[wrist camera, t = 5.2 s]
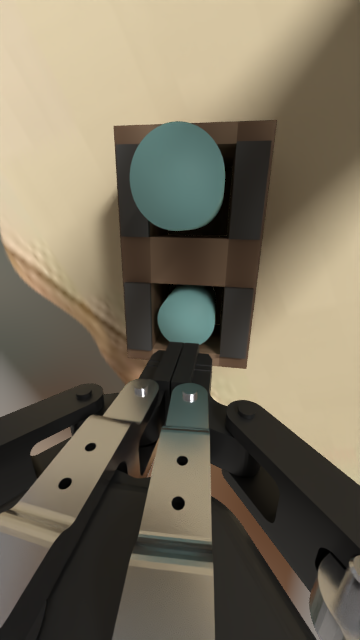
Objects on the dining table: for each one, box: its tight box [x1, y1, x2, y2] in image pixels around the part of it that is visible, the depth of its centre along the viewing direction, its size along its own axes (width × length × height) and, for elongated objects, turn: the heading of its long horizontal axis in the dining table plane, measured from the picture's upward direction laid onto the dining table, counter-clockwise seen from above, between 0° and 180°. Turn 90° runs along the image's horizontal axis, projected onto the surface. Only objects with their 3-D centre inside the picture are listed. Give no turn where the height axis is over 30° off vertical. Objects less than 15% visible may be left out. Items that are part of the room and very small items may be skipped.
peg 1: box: [130, 121, 225, 231], centre depth 13 cm, size 4×4×6 cm
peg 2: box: [158, 284, 216, 345], centre depth 20 cm, size 4×4×6 cm
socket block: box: [114, 120, 277, 369], centre depth 19 cm, size 9×15×6 cm, turn 179°
